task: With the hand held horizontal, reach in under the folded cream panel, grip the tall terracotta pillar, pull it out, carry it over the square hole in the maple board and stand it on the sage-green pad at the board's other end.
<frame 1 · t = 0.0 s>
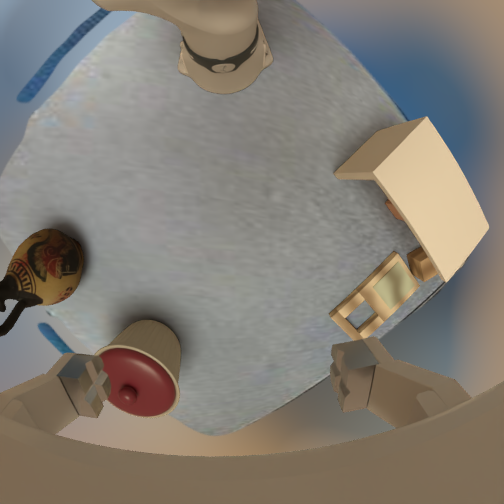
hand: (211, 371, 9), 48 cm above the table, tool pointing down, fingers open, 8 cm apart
oak block: (416, 259, 59), on the table
pillar: (397, 203, 56), on the table
folded cream panel: (397, 204, 56), on the table
hole board: (375, 298, 61), on the table
canister: (154, 341, 62), on the table
ceramic jug: (68, 260, 57), on the table
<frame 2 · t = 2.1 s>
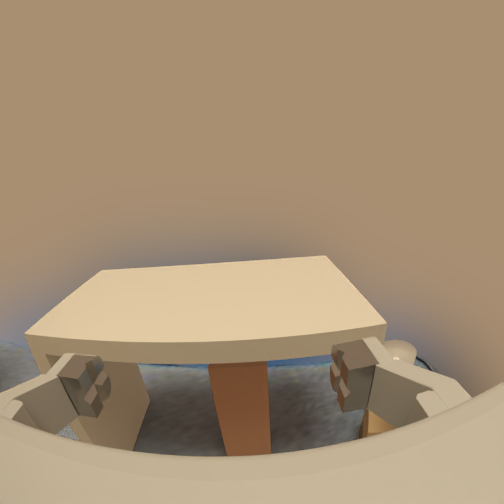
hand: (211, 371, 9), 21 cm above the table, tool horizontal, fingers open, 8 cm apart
oak block: (380, 448, 23), on the table
cream cylinder: (382, 408, 29), on the table
pillar: (249, 442, 26), on the table
folded cream panel: (249, 442, 26), on the table
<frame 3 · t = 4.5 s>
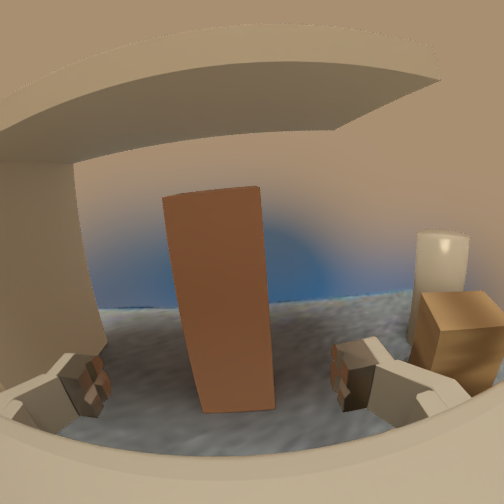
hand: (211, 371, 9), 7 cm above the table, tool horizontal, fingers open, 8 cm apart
oak block: (444, 386, 15), on the table
cream cylinder: (429, 338, 20), on the table
pillar: (239, 389, 18), on the table
folded cream panel: (239, 389, 18), on the table
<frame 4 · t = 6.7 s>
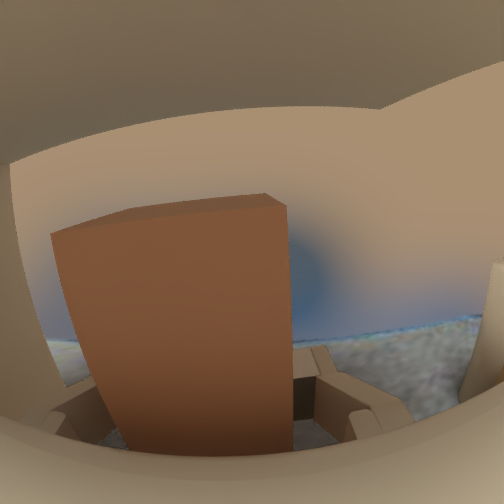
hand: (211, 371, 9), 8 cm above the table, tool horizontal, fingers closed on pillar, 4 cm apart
cream cylinder: (485, 397, 12), on the table
pillar: (237, 494, 10), on the table, touching gripper
folded cream panel: (237, 494, 10), on the table
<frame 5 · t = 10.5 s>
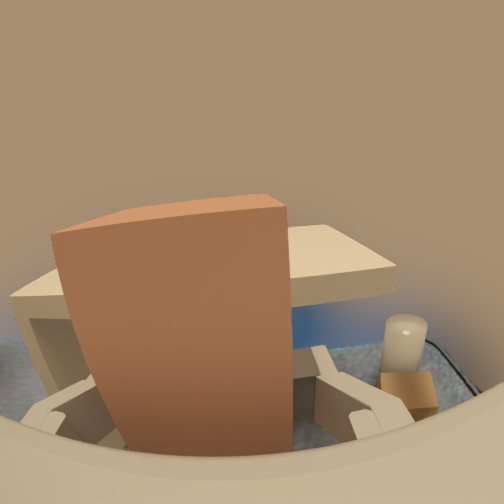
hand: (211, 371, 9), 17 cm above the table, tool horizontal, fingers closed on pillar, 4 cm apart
oak block: (394, 432, 21), on the table
cream cylinder: (393, 391, 27), on the table
pillar: (237, 494, 10), point 10 cm above the table, touching gripper
folded cream panel: (251, 430, 25), on the table
when the fingers open (11 cm above the table, at t = 14.5 s): pillar drops 1 cm, resting on hole board.
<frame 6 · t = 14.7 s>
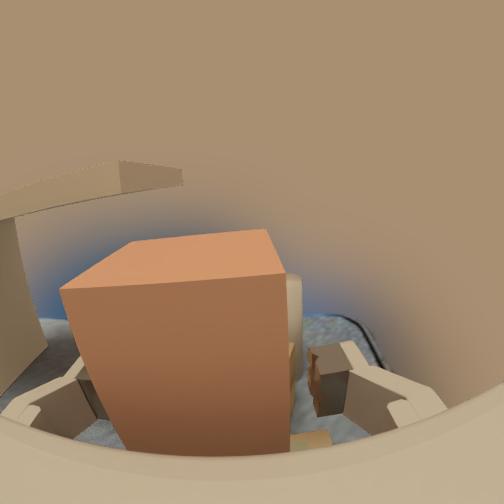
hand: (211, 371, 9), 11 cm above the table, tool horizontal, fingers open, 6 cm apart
oak block: (255, 420, 19), on the table
cream cylinder: (278, 372, 25), on the table
pillar: (238, 502, 10), point 2 cm above the table, touching hole board
folded cream panel: (108, 388, 23), on the table
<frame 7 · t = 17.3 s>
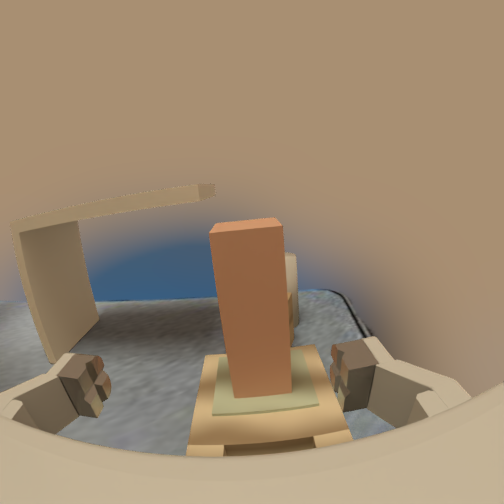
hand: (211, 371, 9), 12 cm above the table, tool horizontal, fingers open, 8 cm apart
cream cylinder: (282, 322, 37), on the table
pillar: (261, 379, 23), point 2 cm above the table, touching hole board
folded cream panel: (159, 339, 35), on the table
hole board: (268, 438, 19), on the table
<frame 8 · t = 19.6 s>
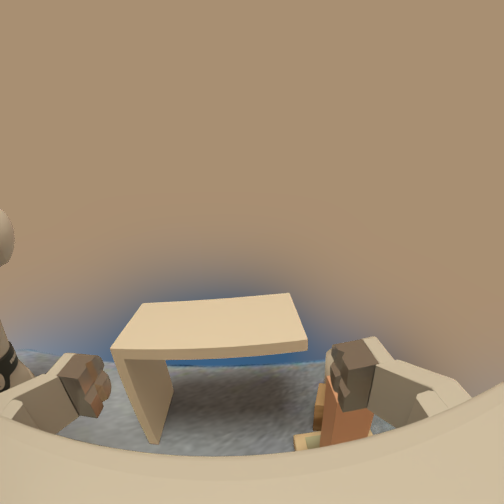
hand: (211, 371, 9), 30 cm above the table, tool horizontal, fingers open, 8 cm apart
oak block: (330, 420, 39), on the table
cream cylinder: (335, 395, 44), on the table
pillar: (339, 453, 30), point 2 cm above the table, touching hole board
folded cream panel: (242, 414, 42), on the table
hole board: (345, 488, 25), on the table
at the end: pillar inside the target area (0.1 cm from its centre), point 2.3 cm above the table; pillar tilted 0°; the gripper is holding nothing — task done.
